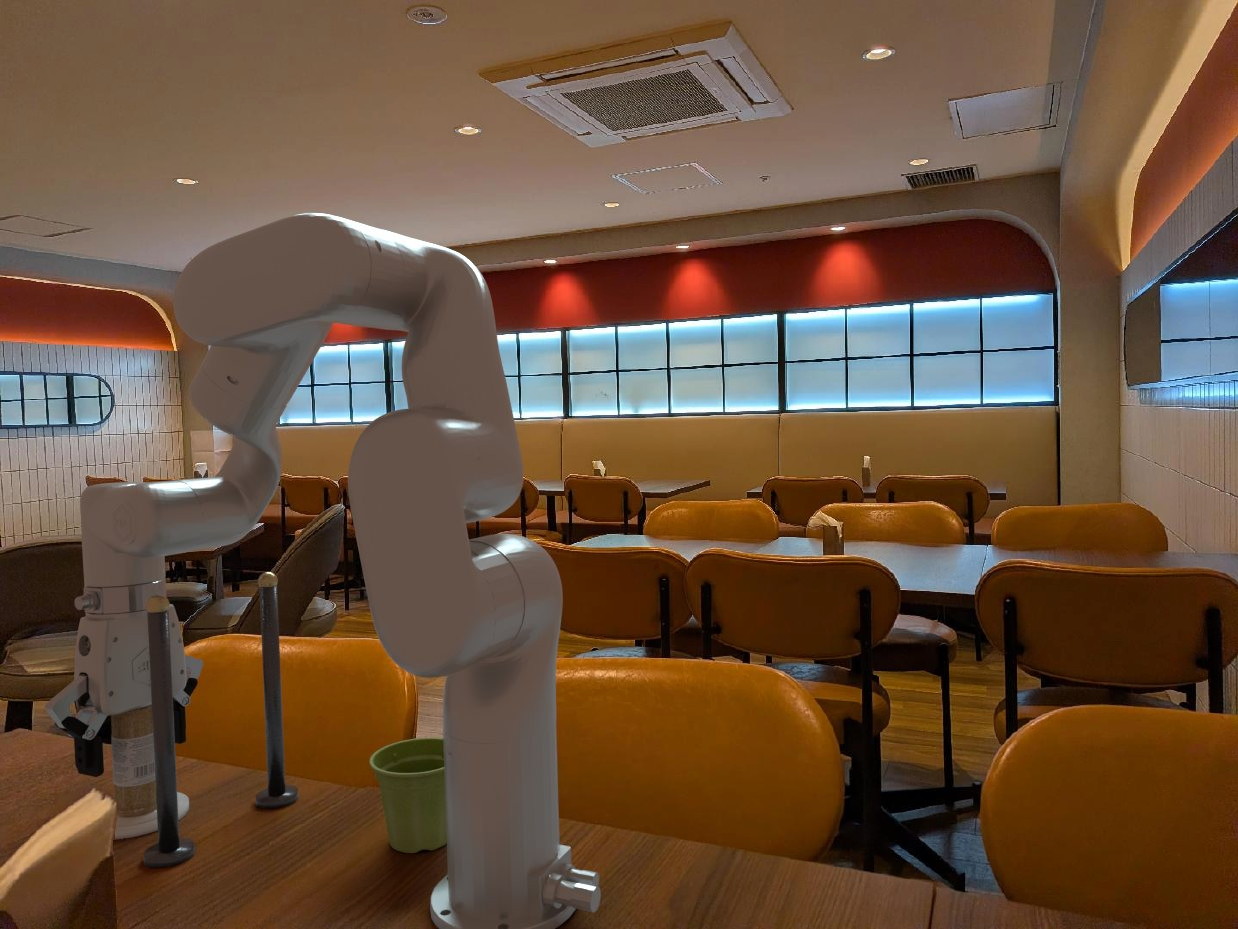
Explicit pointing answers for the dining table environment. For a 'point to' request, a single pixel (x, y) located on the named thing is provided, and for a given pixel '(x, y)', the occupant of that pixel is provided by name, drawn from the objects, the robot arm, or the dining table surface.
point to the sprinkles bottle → (133, 761)
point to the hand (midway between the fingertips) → (134, 757)
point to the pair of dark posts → (169, 843)
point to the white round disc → (146, 820)
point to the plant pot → (413, 793)
